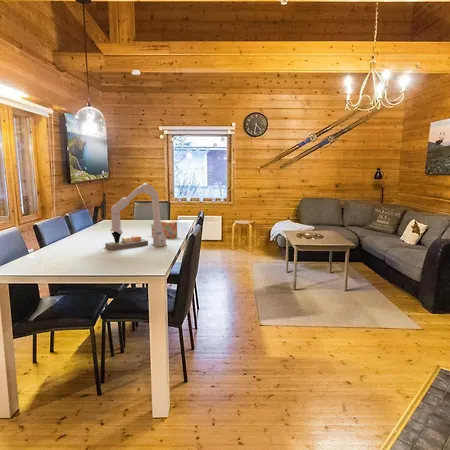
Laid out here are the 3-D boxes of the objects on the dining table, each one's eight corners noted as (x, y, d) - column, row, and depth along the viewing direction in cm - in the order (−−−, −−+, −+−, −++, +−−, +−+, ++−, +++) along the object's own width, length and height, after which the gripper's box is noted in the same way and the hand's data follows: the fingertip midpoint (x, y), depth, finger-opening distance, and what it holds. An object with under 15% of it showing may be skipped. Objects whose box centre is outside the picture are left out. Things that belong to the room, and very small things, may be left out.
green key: (122, 247, 240) (122, 242, 239) (115, 248, 237) (115, 243, 236) (119, 246, 243) (119, 241, 243) (112, 247, 240) (112, 242, 240)
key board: (148, 245, 248) (147, 240, 247) (112, 250, 232) (112, 246, 231) (140, 242, 257) (140, 238, 257) (105, 247, 241) (105, 243, 240)
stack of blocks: (151, 235, 283) (151, 220, 281) (156, 234, 288) (156, 219, 286) (172, 238, 272) (172, 222, 270) (177, 236, 278) (177, 221, 276)
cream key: (131, 242, 244) (131, 237, 243) (125, 243, 240) (124, 238, 240) (128, 241, 247) (128, 236, 247) (122, 242, 244) (121, 237, 244)
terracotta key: (141, 241, 248) (141, 236, 247) (134, 242, 245) (134, 237, 244) (138, 239, 252) (137, 235, 251) (131, 240, 249) (131, 236, 248)
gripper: (106, 222, 240) (107, 241, 242) (114, 224, 229) (115, 245, 231) (116, 221, 245) (117, 240, 247) (124, 223, 234) (125, 243, 236)
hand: (117, 242), depth 239 cm, fingers closed, pressing on green key
